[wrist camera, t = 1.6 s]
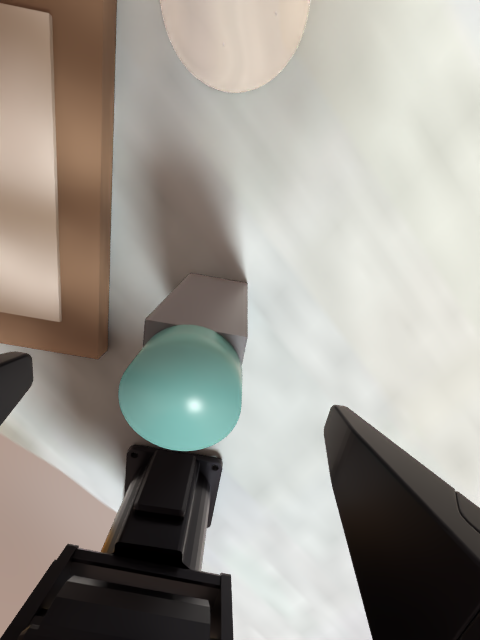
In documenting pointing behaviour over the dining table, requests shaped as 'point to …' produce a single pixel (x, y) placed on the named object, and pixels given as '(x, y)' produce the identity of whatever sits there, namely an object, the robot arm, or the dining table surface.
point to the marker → (189, 366)
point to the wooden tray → (56, 173)
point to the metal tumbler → (235, 39)
